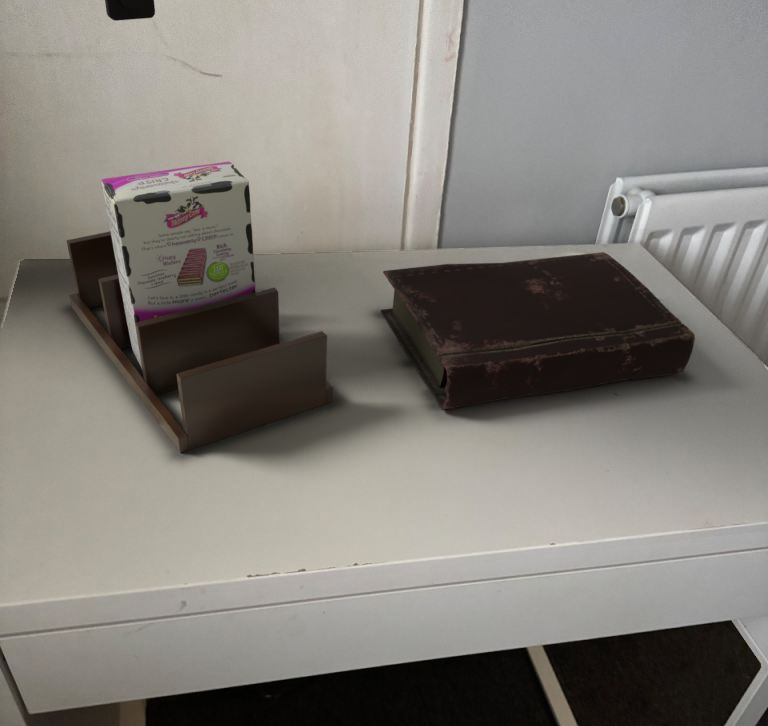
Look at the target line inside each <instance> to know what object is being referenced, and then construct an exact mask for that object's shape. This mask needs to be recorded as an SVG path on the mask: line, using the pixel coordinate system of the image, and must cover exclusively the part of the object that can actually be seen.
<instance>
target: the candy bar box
mask: <svg viewBox="0 0 768 726" xmlns="http://www.w3.org/2000/svg"><path fill="white" fill-rule="evenodd" d="M100 182H101V189H102V195H103V199H104V204H105V208H106V209H105V210H106V215H107V221H108V225H109V232H111V237H112V242H113V248H114V254H115V259H116V264H117V270H118V276H119V282H120V287H121V292H122V297H123V303H124V309H125V314H126V320H127V325H128V330H129V335H130V341H131V346H130V347H131V349H132V352H133V355H134V357H135V359H136V361H137V362H138V364H139V366H140V369H141V370H142V365H141V359H140V352H139V346H138V340H137V334H136V328H135V323H137V322H141V321H145V320H149V319H153V318H157V317H161V316H165V315H169V314H172V313H176V312H180V311H184V310H188V309H192V308H196V307H200V306H204V305H207V304H211V303H215V302H219V301H223V300H227V299H231V298H235V297H239V296H243V295H246V294H250V293H254V292H257V291H256V290H257V289H256V278H255V277H256V275H255V258H254V242H253V241H254V240H253V227H252V226H253V225H252V213H251V211H252V210H251V194H250V182H249V180H248V179H247V178H246V177H245V176H244V175H243V174H242V173H241V172H240V171H239V170H238V169H237V168H236V167H235V164H234V163H232V162H231V161H222V162H216V163H209V164H200V165H192V166H185V167H177V168H170V169H164V170H158V171H157V170H156V171H148V172H144V173H136V174H135V173H134V174H129V175H122V176H114V177H113V176H112V177H108V178H106V177H105V178H101V179H100Z"/></svg>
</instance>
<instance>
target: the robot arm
mask: <svg viewBox="0 0 768 726" xmlns="http://www.w3.org/2000/svg"><path fill="white" fill-rule="evenodd" d="M104 4H105V10H106V15H107V17H108V18H109V19H111V20H112V21H115V22H116V21H117V22H118V21H130V20H143V19H151V18H153V17H155V14H156V7H155V5H156V4H155V0H104Z"/></svg>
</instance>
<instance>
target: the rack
mask: <svg viewBox="0 0 768 726" xmlns="http://www.w3.org/2000/svg"><path fill="white" fill-rule="evenodd" d="M66 246H67V251H68V255H69V260H70V265H71V271H72V275H73V279H74V284H75V289H76V293H73V294H69V301H70V305H71V309H72V310H73V311H74V313H75V314H76V316H77V317H78V319H79V320H80V321H81V322H82V324H83V325H84V327H85V328H86V329H87V330H88V332H89V333H90V335H91V336H92V337H93V339H94V340H95V341H96V342H97V344H98V345H99V347H100V348H101V349H102V351H103V352H104V354H106V356H107V357H108V358H109V360H110V361H111V362H112V364H113V365H114V367H115V368H116V369H117V370H118V371H119V373H120V375H121V376H122V377H123V379H124V380H125V381H126V382H127V384H128V385H129V386H130V388H131V389H132V391H133V392H134V394H136V396H137V397H138V399H139V400H140V401H141V402H142V404H143V405H144V406H145V408H146V409H147V410H148V412H149V413H150V414H151V416H152V417H153V418H154V420H155V421H156V423H157V424H158V425H159V426H160V428H161V429H162V431H163V432H164V433H165V434H166V436H167V437H168V439H169V441H171V443H172V444H173V445H174V447H175V448H176V450H177V451H178V452H179V453H184V452H187V451H189V450H193V449H196V448H199V447H202V446H205V445H209V444H211V443H214V442H217V441H219V440H224V439H226V438H228V437H232V436H235V435H238V434H240V433H244V432H247V431H250V430H253V429H255V428H258V427H262V426H264V425H267V424H270V423H274V422H276V421H279V420H282V419H285V418H287V417H291V416H294V415H297V414H301V413H303V412H306V411H308V410H312V409H316V408H318V407H320V406H323V405H326V404H329V403H333V402H334V394H335V393H334V391H335V389H334V386H333V385H332V384H330V382H328V380H327V364H328V363H327V360H328V356H327V355H328V335H327V334H326V333H325V332H324V331H323V330H322V331H321V330H320V331H318V332H315V333H311V334H307V335H305V336H301V337H297V338H294V339H291V340H285V338H283V336H282V335H280V308H279V306H280V305H279V304H280V303H279V302H280V301H279V299H280V298H279V290H278V289H277V288H276V287H269V288H266V289H262V290H258V291H256V292H254V293H250V294H246V295H243V296H239V297H235V298H231V299H227V300H223V301H219V302H215V303H211V304H207V305H204V306H200V307H196V308H192V309H188V310H184V311H180V312H176V313H172V314H169V315H165V316H161V317H157V318H153V319H149V320H145V321H141V322H137V323H135V328H136V334H137V340H138V346H139V352H140V359H141V365H142V369H141V371H142V375H141V374H140V372H139V371H138V370H137V369H136V367H135V366H134V365H133V363H132V362H131V361H130V359H129V358H128V357H127V356H126V354H125V353H124V352H123V351H122V350H123V349H127V348H131V347H132V346H131V341H130V335H129V330H128V325H127V320H126V314H125V309H124V303H123V297H122V292H121V287H120V282H119V276H118V270H117V264H116V259H115V254H114V248H113V242H112V237H111V232H110V231H105V232H101V233H95V234H90V235H86V236H81V237H76V238H71V239H67V240H66ZM101 306H102V307H103V310H104V318H105V322H106V328H107V330H106V329H105V327H104V326H103V325H102V323H101V322H100V321H99V319H97V317H96V316H95V314H94V313H93V312H92V311H91V309H94V308H96V307H97V308H98V307H101ZM142 376H143V377H142ZM174 390H178V397H179V404H180V413H181V421H182V427H181V426H180V424H179V423H178V422H177V420H176V419H175V418H174V416H173V415H172V414H171V413H170V411H169V410H168V408H166V405H164V404H163V402H162V401H161V399H159V397H158V396H157V395H161V394H163V393H167V392H172V391H174Z"/></svg>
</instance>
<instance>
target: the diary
mask: <svg viewBox="0 0 768 726" xmlns="http://www.w3.org/2000/svg"><path fill="white" fill-rule="evenodd" d="M382 273H383V275H384V277H385V278H386V280H387V281H388V282H389V284H390V285H391V287H392V289H393V301H392V308H385V309H380V313H381V315H382V317H383V318H384V319H385V322H386V323H387V325H388V326H389V328H390V329H391V331H392V333H393V335H394V336H395V337H396V339H397V341H398V342H399V344H400V345H401V347H402V349H403V350H404V352H405V353H406V355H407V357H408V358H409V360H410V362H411V363H412V365H413V367H414V368H415V370H416V371H417V373H418V374H419V376H420V378H421V379H422V381H423V382H424V384H425V386H426V387H427V389H428V391H429V392H430V394H431V395H432V396H433V398H434V400H435V401H436V403H437V405H438V406H439V408H440V409H441V410H442V411H443V410H449V409H450V410H451V409H455V408H460V407H461V408H462V407H466V406H472V405H477V404H481V403H488V402H493V401H498V400H505V399H510V398H517V397H525V396H534V395H542V394H551V393H557V392H558V393H559V392H567V391H573V390H578V389H584V388H589V387H595V386H599V385H605V384H610V383H616V382H620V381H626V380H637V379H646V378H652V377H655V378H656V377H660V376H661V377H663V376H672V375H678V374H681V373H683V372H684V370H685V368H687V367H686V366H687V365H688V363H689V360H690V358H691V355H692V352H693V348H694V345H695V340H696V337H695V333H694V332H693V331H692V329H690V328H689V327H688V326H687V325H685V324H684V323H682V321H681V320H680V319H679V318H678V317H677V315H676V316H675V314H674V313H672V312H671V310H669V308H668V307H666V306H665V305H664V304H663V302H661V300H660V299H659V298H658V297H657V296H656V295H655V294H654V293H653V292H652V291H651V290H650V289H649V288H648V287H647V286H646V285H645V284H644V283H643V282H642V281H641V280H639V279H638V278H637V277H636V276H635V275H634V274H633V273H632V272H631V271H630V270H628V269H627V268H626V267H625V266H624V265H622V264H621V263H620V262H619V261H617V260H616V259H615V258H613V257H612V256H611V255H610V254H609V253H606V252H604V251H600V252H593V253H583V254H581V253H580V254H574V255H573V254H572V255H563V256H553V257H543V258H534V259H526V260H525V259H524V260H514V261H507V262H505V261H504V262H478V263H477V262H476V263H475V262H473V263H444V264H434V265H433V264H432V265H426V266H415V267H405V268H398V269H397V268H396V269H388V270H383V271H382Z"/></svg>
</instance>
